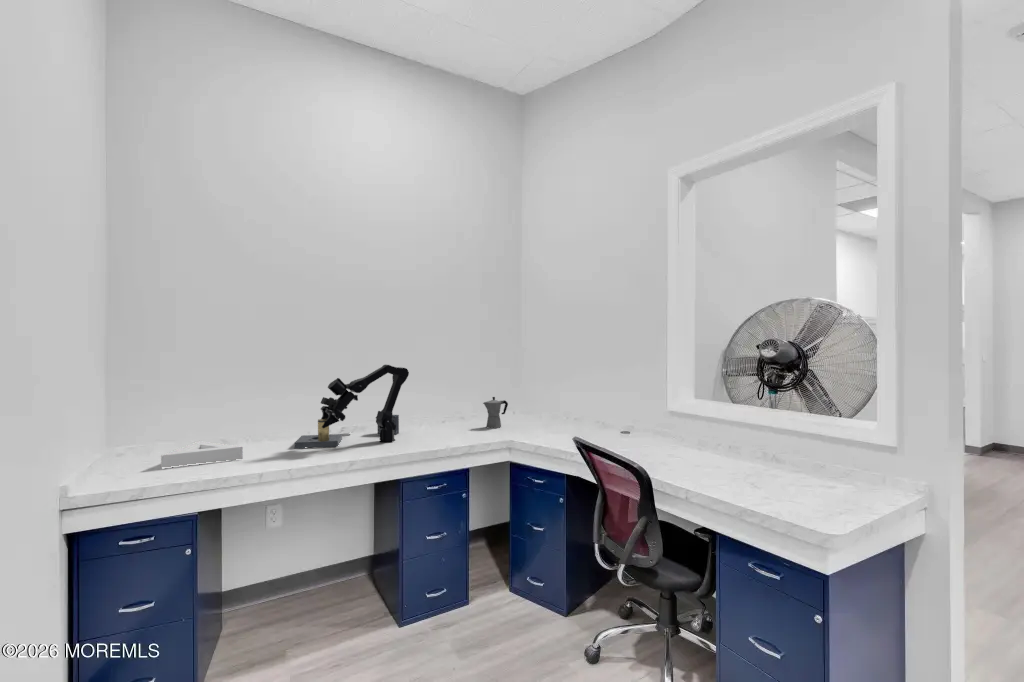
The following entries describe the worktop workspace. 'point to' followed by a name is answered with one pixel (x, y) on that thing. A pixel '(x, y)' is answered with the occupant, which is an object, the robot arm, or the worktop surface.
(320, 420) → the cylinder
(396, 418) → the small box
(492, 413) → the coffeepot
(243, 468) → the worktop surface
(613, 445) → the worktop surface
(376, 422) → the robot arm
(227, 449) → the triangle block
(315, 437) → the grey octagonal hole plate
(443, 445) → the worktop surface
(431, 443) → the worktop surface
